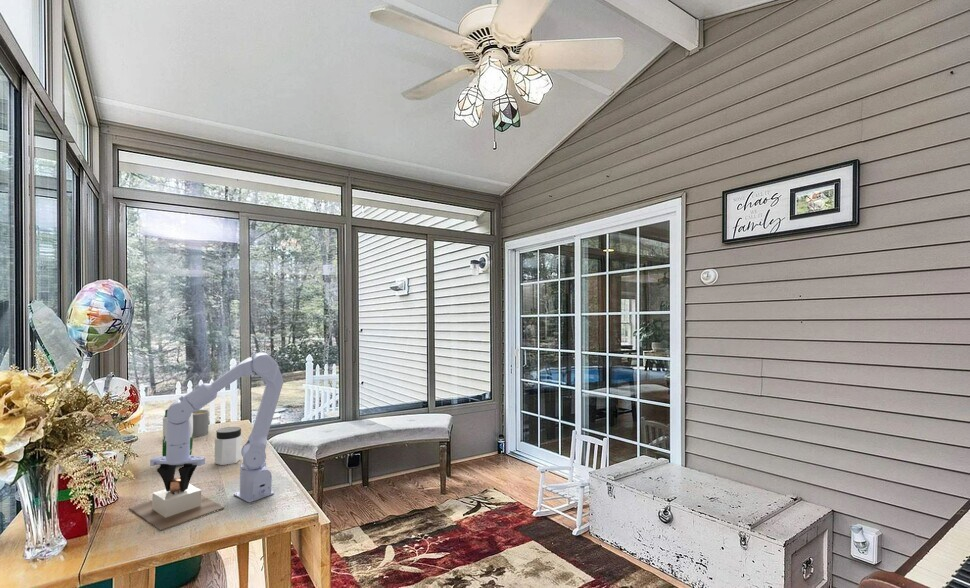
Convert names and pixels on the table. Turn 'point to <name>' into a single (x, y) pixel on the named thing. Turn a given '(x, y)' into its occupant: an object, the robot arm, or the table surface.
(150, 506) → the board
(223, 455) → the jar
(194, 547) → the table surface
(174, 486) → the plunger
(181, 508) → the hollow square block
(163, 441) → the milk carton
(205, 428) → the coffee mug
